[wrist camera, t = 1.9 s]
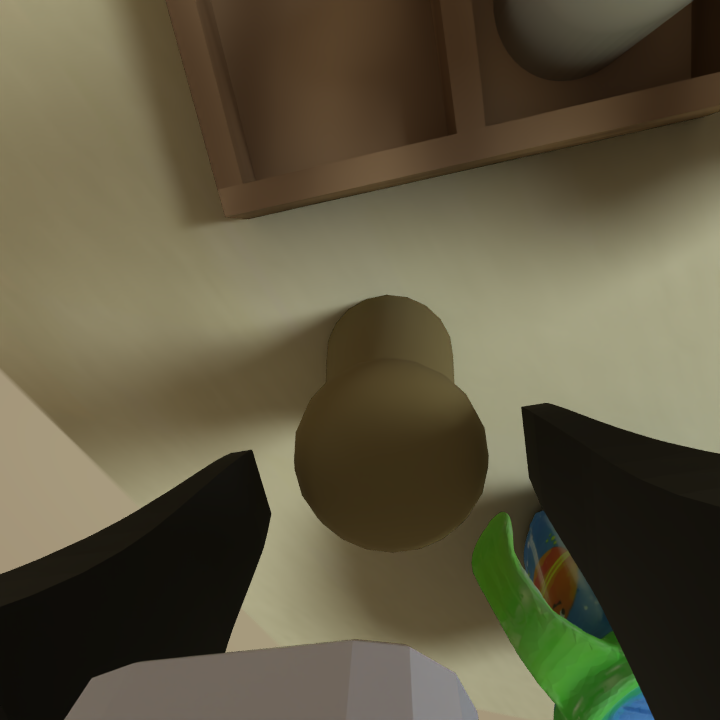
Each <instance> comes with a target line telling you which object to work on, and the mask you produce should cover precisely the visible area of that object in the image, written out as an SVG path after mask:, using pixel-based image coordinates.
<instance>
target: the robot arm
mask: <svg viewBox="0 0 720 720" xmlns="http://www.w3.org/2000/svg"><path fill="white" fill-rule="evenodd" d="M521 409H522V418H523V427H524V436H525V445H526V454H527V464H528V473H529V479H530V481H531V483H532V486H533V488H534V490H535V493H536V495H537V497H538V500H539V502H540V504H541V506H542V508H543V511H544V512H545V514H546V516H547V517H548V519H549V521H550V522H551V524H552V526H553V527H554V529H555V531H556V532H557V534H558V535H559V537H560V539H561V540H562V542H563V544H564V545H565V547H566V548H567V550H568V552H569V553H570V555H571V557H572V558H573V560H574V561H575V563H576V565H577V566H578V568H579V570H580V571H581V573H582V574H583V576H584V578H585V579H586V581H587V582H588V584H589V586H590V587H591V589H592V591H593V593H594V595H595V596H596V598H597V600H598V602H599V604H600V605H601V607H602V609H603V611H604V613H605V615H606V618H607V620H608V622H609V624H610V626H611V628H612V630H613V632H614V634H615V636H616V638H617V640H618V642H619V644H620V646H621V648H622V651H623V653H624V655H625V657H626V659H627V661H628V663H629V666H630V668H631V670H632V672H633V674H634V676H635V678H636V681H637V683H638V685H639V687H640V689H641V691H642V694H643V696H644V698H645V700H646V702H647V704H648V707H649V709H650V711H651V713H652V716H653V718H654V720H720V454H718V453H713V452H708V451H703V450H698V449H694V448H689V447H685V446H680V445H676V444H672V443H667V442H664V441H660V440H656V439H652V438H649V437H646V436H642V435H639V434H636V433H633V432H629V431H626V430H623V429H620V428H617V427H614V426H611V425H608V424H605V423H603V422H600V421H597V420H594V419H592V418H589V417H586V416H584V415H581V414H578V413H576V412H573V411H570V410H568V409H565V408H562V407H559V406H556V405H553V404H549V403H543V404H536V405H530V406H524V407H521ZM270 518H271V511H270V508H269V504H268V501H267V498H266V494H265V491H264V488H263V484H262V481H261V478H260V474H259V471H258V468H257V464H256V461H255V458H254V454H253V451H252V450H247V451H241V452H235V453H230V454H228V455H226V456H224V457H222V458H220V459H218V460H216V461H215V462H213V463H211V464H210V465H208V466H207V467H205V468H204V469H202V470H200V471H199V472H197V473H196V474H194V475H193V476H191V477H190V478H188V479H187V480H185V481H184V482H182V483H181V484H179V485H178V486H176V487H175V488H173V489H171V490H170V491H168V492H167V493H165V494H163V495H162V496H160V497H159V498H157V499H155V500H154V501H152V502H150V503H149V504H147V505H146V506H144V507H142V508H141V509H139V510H137V511H136V512H134V513H132V514H131V515H129V516H127V517H125V518H124V519H122V520H120V521H118V522H116V523H114V524H112V525H111V526H109V527H107V528H105V529H103V530H101V531H99V532H97V533H95V534H93V535H91V536H89V537H87V538H85V539H83V540H81V541H78V542H76V543H74V544H72V545H69V546H67V547H65V548H63V549H61V550H58V551H56V552H54V553H52V554H49V555H47V556H45V557H43V558H41V559H38V560H36V561H33V562H31V563H28V564H26V565H23V566H21V567H18V568H16V569H13V570H11V571H8V572H5V573H2V574H0V720H479V719H478V714H477V710H476V708H475V707H474V705H473V703H472V701H471V700H470V698H469V696H468V694H467V693H466V691H465V689H464V687H463V685H462V684H461V682H460V680H459V678H458V677H457V675H456V673H455V672H453V671H451V670H449V669H448V668H446V667H444V666H442V665H441V664H439V663H437V662H435V661H434V660H432V659H430V658H428V657H427V656H425V655H423V654H422V653H420V652H418V651H416V650H415V649H413V648H411V647H409V646H407V645H405V644H397V643H387V642H378V641H368V640H358V639H354V640H344V641H334V642H324V643H315V644H305V645H295V646H286V647H276V648H266V649H258V650H247V651H238V652H227V653H225V651H226V648H227V644H228V641H229V638H230V636H231V633H232V629H233V627H234V624H235V622H236V619H237V616H238V614H239V611H240V609H241V606H242V603H243V601H244V598H245V596H246V593H247V591H248V588H249V585H250V583H251V580H252V578H253V575H254V572H255V570H256V567H257V564H258V562H259V559H260V556H261V554H262V551H263V548H264V545H265V541H266V536H267V532H268V527H269V523H270Z"/></svg>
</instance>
